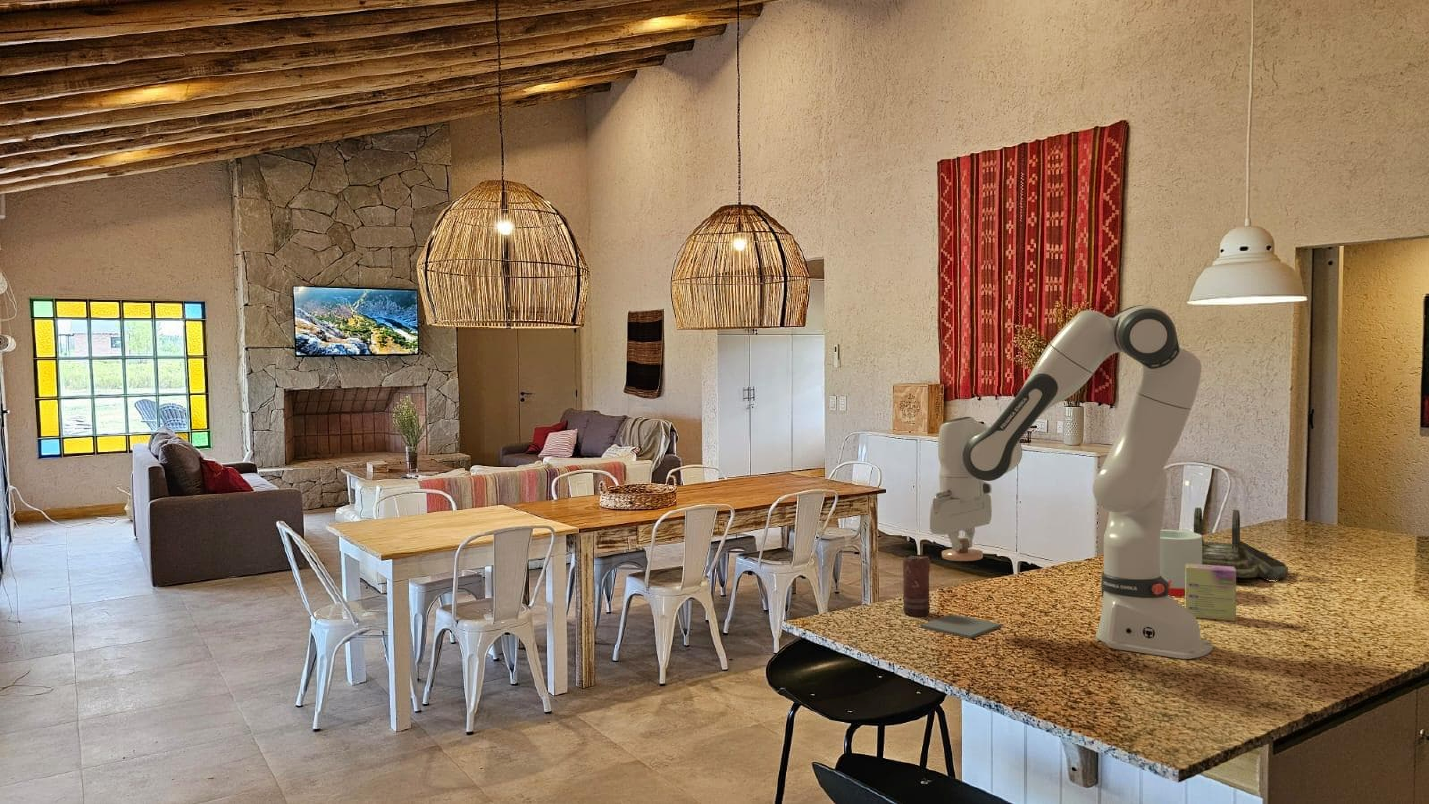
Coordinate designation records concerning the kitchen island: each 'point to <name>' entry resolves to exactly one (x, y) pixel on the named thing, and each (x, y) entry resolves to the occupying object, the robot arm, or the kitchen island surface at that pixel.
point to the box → (1210, 591)
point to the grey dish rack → (1239, 554)
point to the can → (916, 585)
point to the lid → (962, 553)
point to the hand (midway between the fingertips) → (962, 549)
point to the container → (1178, 557)
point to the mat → (961, 626)
